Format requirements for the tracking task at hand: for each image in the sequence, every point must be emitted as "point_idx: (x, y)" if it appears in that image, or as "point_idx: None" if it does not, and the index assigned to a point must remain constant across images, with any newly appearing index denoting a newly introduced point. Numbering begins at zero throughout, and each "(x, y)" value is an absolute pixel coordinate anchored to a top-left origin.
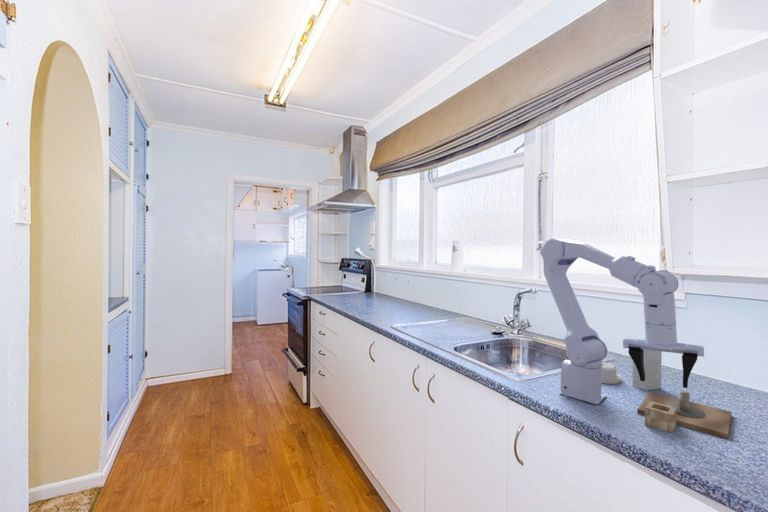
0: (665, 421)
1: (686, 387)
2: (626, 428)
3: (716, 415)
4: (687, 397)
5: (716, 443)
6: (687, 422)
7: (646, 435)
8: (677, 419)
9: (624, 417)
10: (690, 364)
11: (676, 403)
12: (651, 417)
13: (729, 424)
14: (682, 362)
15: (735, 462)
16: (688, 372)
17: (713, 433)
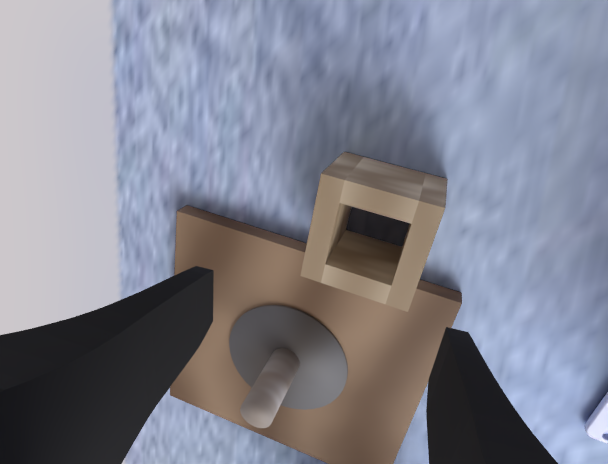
0: (361, 168)
1: (194, 268)
2: (552, 76)
3: (202, 352)
4: (254, 389)
5: (215, 144)
6: (283, 250)
7: (459, 48)
8: None
9: (534, 217)
10: (4, 344)
11: (304, 405)
12: (418, 185)
13: None
14: (53, 367)
15: (169, 3)
16: (100, 315)
17: (217, 216)
